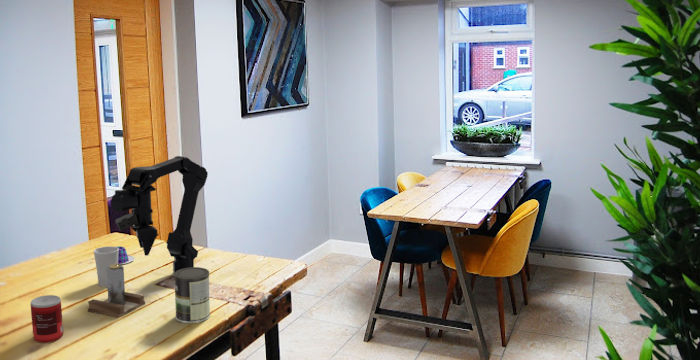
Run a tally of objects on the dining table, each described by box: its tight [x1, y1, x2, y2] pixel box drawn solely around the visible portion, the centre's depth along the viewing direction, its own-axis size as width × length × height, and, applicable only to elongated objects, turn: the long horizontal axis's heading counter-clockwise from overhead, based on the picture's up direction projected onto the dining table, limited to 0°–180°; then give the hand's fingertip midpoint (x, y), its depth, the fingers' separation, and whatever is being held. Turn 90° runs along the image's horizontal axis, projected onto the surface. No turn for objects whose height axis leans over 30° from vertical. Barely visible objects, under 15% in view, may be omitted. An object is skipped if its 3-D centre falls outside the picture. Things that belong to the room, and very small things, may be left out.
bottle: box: [106, 263, 126, 305], centre depth 207 cm, size 5×5×13 cm
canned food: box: [30, 294, 64, 344], centre depth 185 cm, size 8×8×11 cm
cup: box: [93, 246, 119, 288], centre depth 227 cm, size 8×8×12 cm
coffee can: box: [173, 266, 211, 324], centre depth 201 cm, size 10×10×14 cm
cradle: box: [87, 291, 146, 318], centre depth 208 cm, size 12×12×3 cm
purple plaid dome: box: [116, 246, 135, 265], centre depth 252 cm, size 12×12×5 cm
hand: (144, 251), depth 222 cm, fingers open, 9 cm apart
